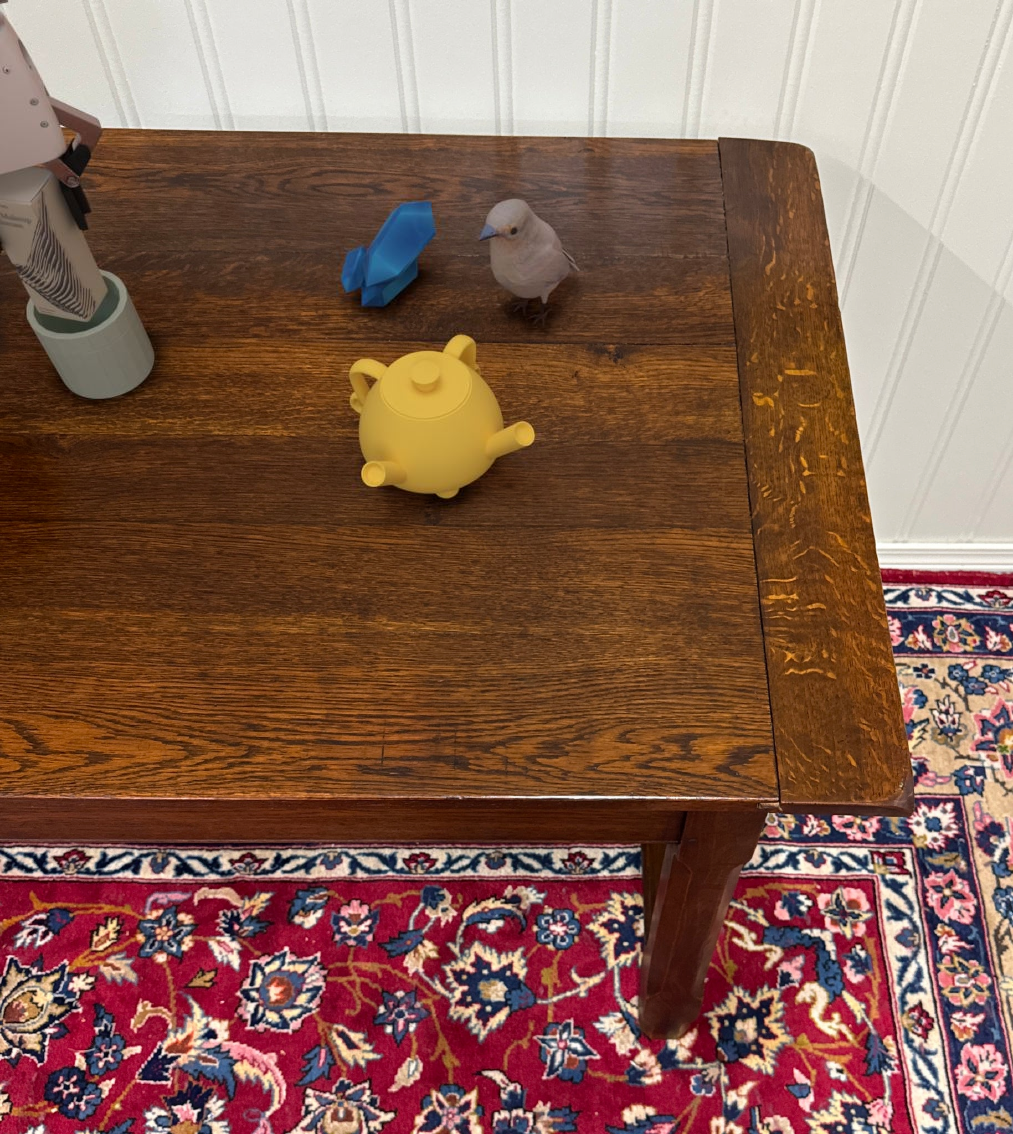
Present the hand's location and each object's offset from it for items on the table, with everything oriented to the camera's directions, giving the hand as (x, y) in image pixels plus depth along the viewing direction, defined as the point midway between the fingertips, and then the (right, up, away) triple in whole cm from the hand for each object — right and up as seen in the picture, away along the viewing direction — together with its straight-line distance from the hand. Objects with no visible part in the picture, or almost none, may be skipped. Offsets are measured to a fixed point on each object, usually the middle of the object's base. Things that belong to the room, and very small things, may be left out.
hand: (38, 230), depth 81 cm
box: (0, -4, +7) cm, 8 cm away
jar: (0, -8, +14) cm, 16 cm away
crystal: (+27, +1, +19) cm, 33 cm away
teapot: (+32, -19, +7) cm, 38 cm away
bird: (+41, -3, +17) cm, 44 cm away
